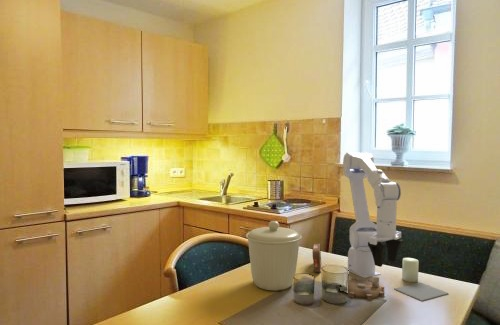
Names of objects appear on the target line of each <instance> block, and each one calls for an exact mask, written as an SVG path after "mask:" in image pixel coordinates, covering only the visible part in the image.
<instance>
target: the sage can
mask: <svg viewBox="0 0 500 325" xmlns="http://www.w3.org/2000/svg"><path fill="white" fill-rule="evenodd" d="M401 265H402V266H401V267H402V269H401V270H402V271H401V273H402V274H401V279H402V281H405V282H409V283H419V265H420V263H419V260H418V259H416V258H412V257H403V258H402V264H401Z"/></svg>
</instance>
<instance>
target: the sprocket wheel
mask: <svg viewBox="0 0 500 325" xmlns="http://www.w3.org/2000/svg"><path fill="white" fill-rule="evenodd" d="M347 281H348V280H347ZM347 295H348V297H349V298H353V299H355V298H359V299H366V300H367V301H372V300H373V299H375V298H379V297H381V298H383V297H385V286H383V285H380V277H379V275H376V276H371V280H363V279H357V278H351V279H349V281H348V294H347Z"/></svg>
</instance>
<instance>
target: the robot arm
mask: <svg viewBox="0 0 500 325" xmlns="http://www.w3.org/2000/svg"><path fill="white" fill-rule="evenodd" d="M342 160H343V161H342V166H343V171H344V176H345V177H346V178H347V179H349V180H348V181H349V184H350V192H351V198H352V205H353V206H352V207H353V210H354V217H355V222H354V223H353V224H351V226H350V227H349V237H348V238H349V244H350V246H351V247H349V250H348V252H347V268H348V269H349V271H348V272H350V273H352V274H355V275H357V276H359V277H360V278H361V277H362V278H365V279H366V278H370V277H371V278H372V276H379V275H381V272H379V271H376V267H379V268H381V267H383V264H384V257H385V251H386V249H387V259H388V261H389V262H393V263H396V261H397V258H398V254H399V251H400V248H401V247H402V245H403V244H404V239H402V231H398V230H397V208H398V207H397V205H398V204H397V203H398V202H397V201H399V200H401V195H402V190H401V186H400V184H399V183H398V181H391V179H390V178H388V176H387V175H386V174H385V172H384V171H383V170H382V169H378V168H377V167H376V165H375V164H374V163H375V162H374V160H375V158H374V156H373V154H372V153H371V152H345V154H344V155H343V159H342ZM365 178H367V182H368V184H369V185H370V186H371V187H372V189H373V194H374V199H375V203H374V204H375V206H376V207H377V208H376V223H374V222H373V221H371V219H370V218H371V217H370V213H369V207H368V201H367V195H366V189H365V184H364V179H365ZM383 242H385V244H386V245H385V244H383Z"/></svg>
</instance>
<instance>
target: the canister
mask: <svg viewBox="0 0 500 325" xmlns="http://www.w3.org/2000/svg"><path fill="white" fill-rule="evenodd" d="M245 238H246V239H247V242H248V253H249V254H248V255H249V263H250V271H251V278H252V281H253V283H254V285H255V286H256V287H258V288H259V289H262V290H266V291H285V290H287V289H288V288H291V286H293V284H294V282H293V277H294V275H295V276H296V273H297V264H298V258H299V257H298V256H299V249H300V240H302V238H303V237H302V234H300V233H299V232H297V231H296V230H294V229H292V228H288V227H282V226H280V223H279V222H278V221H277V220H271V221H269V222H268V226H261V227H258V228H253V229H251V230H250V231H248V232H247V233H246V234H245Z"/></svg>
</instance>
